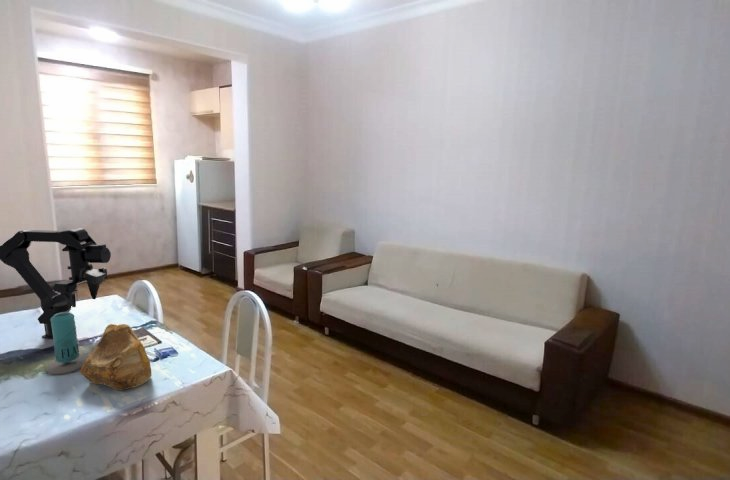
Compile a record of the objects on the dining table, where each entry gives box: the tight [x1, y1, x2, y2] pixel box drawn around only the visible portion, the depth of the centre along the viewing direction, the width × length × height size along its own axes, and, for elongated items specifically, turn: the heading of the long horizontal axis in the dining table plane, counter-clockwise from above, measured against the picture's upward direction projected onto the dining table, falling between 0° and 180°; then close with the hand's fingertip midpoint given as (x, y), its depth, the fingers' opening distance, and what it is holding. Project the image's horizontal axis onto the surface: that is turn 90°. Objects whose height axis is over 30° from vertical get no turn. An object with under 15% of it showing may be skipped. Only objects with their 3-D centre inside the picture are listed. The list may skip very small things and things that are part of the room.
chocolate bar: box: [132, 327, 163, 348], centre depth 157 cm, size 9×1×18 cm
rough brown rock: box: [79, 323, 152, 392], centre depth 126 cm, size 23×17×15 cm
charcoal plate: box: [45, 353, 90, 376], centre depth 136 cm, size 12×12×1 cm
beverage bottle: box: [50, 302, 80, 363], centre depth 134 cm, size 6×7×20 cm
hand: (84, 303), depth 157 cm, fingers open, 9 cm apart
